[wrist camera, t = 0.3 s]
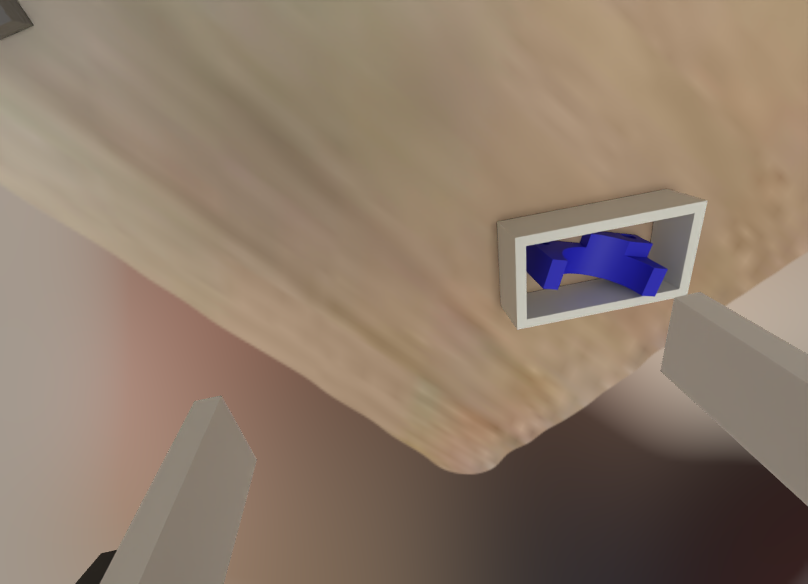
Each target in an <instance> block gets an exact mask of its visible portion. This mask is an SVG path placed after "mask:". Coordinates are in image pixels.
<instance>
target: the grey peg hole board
mask: <svg viewBox="0 0 808 584" xmlns="http://www.w3.org/2000/svg"><path fill="white" fill-rule="evenodd" d="M31 26H33V24H32V23H31V21H30V20H29V18H28V17H27V15H26V14H25V12H24V11H23V9H22V8H21V6H20V5H19V3H18V2H17V1H16V0H0V40H1V39H3V38H5V37H8V36H10V35H12V34H15V33H17V32H19V31H22V30H24V29H26V28H29V27H31Z"/></svg>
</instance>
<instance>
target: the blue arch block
mask: <svg viewBox="0 0 808 584" xmlns="http://www.w3.org/2000/svg"><path fill="white" fill-rule="evenodd" d="M652 245H653V243H651V242H649V241H646V240H644V239H642V238H640V237H638V236H636V235H632V234H622V233H612V232H602V231H601V232H596V233H591V234H586V235H582V238H581V241H580V243H572V242H562V241H550V242H545V243H539V244H534V245H529V246H526V271H527V272H528V273H529V274H530V276H531V277H532V278H533V279H534V280H535V281H536V282H537V283H538V284H539V285H540V286H541V287H542V288H543V289H554V290H558V288H559V285H560V282H561V279H562V276H563V274H567V273H573V274H584V275H590V276H595V277H599V278H603V279H606V280H609V281H612V282H615V283H618V284H620V285H623V286H625V287H627V288H629V289H631V290H633V291H635V292H636V293H638V294H640V295H641V296H653V297H655V295H656V293H657V291H658V289H659V287H660V285H661V283H662V281H663V279H664V276H665V274H666V272H667V270H668V269H667V268H665V267H663V266H661V265H660V264H658V263H656V262H654V261H652V260H651V259H649V258H647V256H648V254H649V252H650V249H651V247H652Z"/></svg>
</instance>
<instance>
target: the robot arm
mask: <svg viewBox="0 0 808 584" xmlns="http://www.w3.org/2000/svg"><path fill="white" fill-rule="evenodd" d="M661 372H662V373H663V374H664V375H665V376H666V377H667V378H668V379H670V380H671V381H672V382H673V383H674V384H675V385H676V386H677V387H678V388H679V389H680V390H682V391H683V392H684V393H685V394H686V395H687V396H688V397H689V398H690V399H692V400H693V401H694V402H695V403H696V404H697V405H698V406H699V407H700V408H701V409H702V410H704V411H705V412H706V413H707V414H708V415H709V416H710V417H711V418H712V419H713V420H714V421H715V422H717V423H718V424H719V425H720V426H721V427H722V428H723V429H724V430H725V431H726V432H727V433H729V434H730V435H731V436H732V437H733V438H734V439H735V440H736V441H737V442H738V443H740V444H741V445H742V446H743V447H744V448H745V449H746V450H747V451H748V452H749V453H750V454H752V455H753V456H754V457H755V458H756V459H757V460H758V461H759V462H760V463H761V464H763V465H764V466H765V467H766V468H767V469H768V470H769V471H770V472H771V473H772V474H774V475H775V476H776V477H777V478H778V479H779V480H780V481H781V482H782V483H783V484H785V486H787V487H788V488H789V489H790V490H791V491H792V492H793V493H794V494H795V495H796V496H797V497H799V498H800V499H801V500H802V501H803V502H804V503H805V504H806V505H807V506H808V354H806V353H805V352H803V351H801V350H800V349H798V348H796V347H794V346H792V345H791V344H789V343H787V342H786V341H784V340H782V339H780V338H779V337H777V336H775V335H774V334H772V333H770V332H768V331H767V330H765V329H763V328H762V327H760V326H758V325H756V324H755V323H753V322H751V321H750V320H748V319H746V318H744V317H743V316H741V315H739V314H737V313H736V312H734V311H732V310H731V309H729V308H727V307H725V306H724V305H722V304H720V303H719V302H717V301H715V300H713V299H712V298H710V297H708V296H706V295H705V294H703V293H701V292H698V293H693V294H688V295H684V296H679V297H675V298H674V302H673V308H672V313H671V318H670V323H669V329H668V334H667V339H666V345H665V350H664V356H663V361H662V366H661ZM256 461H257V459H256V457H255V456H254V454H253V452H252V450H251V448H250V447H249V445H248V443H247V441H246V439H245V438H244V436H243V434H242V432H241V430H240V428H239V427H238V425H237V423H236V421H235V419H234V417H233V416H232V414H231V412H230V410H229V409H228V407H227V405H226V403H225V401H224V399H223V398H222V396H217V397H213V398H208V399H203V400H199V401H194V403H193V405H192V407H191V409H190V411H189V413H188V415H187V417H186V419H185V421H184V423H183V425H182V426H181V428H180V430H179V432H178V434H177V436H176V438H175V440H174V442H173V444H172V446H171V447H170V450H169V451H168V453H167V455H166V457H165V459H164V461H163V463H162V465H161V467H160V469H159V471H158V472H157V475H156V476H155V478H154V481H153V482H152V484H151V486H150V488H149V490H148V492H147V494H146V496H145V497H144V499H143V501H142V503H141V505H140V507H139V509H138V511H137V513H136V515H135V517H134V519H133V521H132V523H131V524H130V526H129V529H128V530H127V532H126V534H125V536H124V538H123V540H122V542H121V544H120V546H119V548H118V549H117V550H114V551H110V552H105V553H102V554H100V555H99V557H98V558H97V559H96V560H95V561H94V563H93V564H92V565H91V566H90V567H89V568H88V569H87V571H86V572H85V573H84V574H83V575H82V576H81V578H80V579H79V580H78V581H77V582H76V584H224V581H225V577H226V573H227V569H228V566H229V562H230V558H231V555H232V550H233V547H234V543H235V540H236V536H237V532H238V528H239V525H240V521H241V517H242V513H243V510H244V506H245V502H246V498H247V495H248V491H249V487H250V483H251V480H252V476H253V472H254V468H255V465H256Z"/></svg>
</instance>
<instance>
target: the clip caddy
mask: <svg viewBox="0 0 808 584" xmlns="http://www.w3.org/2000/svg"><path fill="white" fill-rule="evenodd" d="M706 205H707V200H704V199H701V198H697V197H694V196H690V195H687V194H684V193H680V192H677V191H674V190H670V189H664V190H659V191H654V192H649V193H644V194H638V195H633V196H628V197H623V198H618V199H612V200H607V201H602V202H597V203H592V204H586V205H581V206H576V207H571V208H566V209H561V210H555V211H550V212H545V213H540V214H535V215H529V216H524V217H519V218H514V219H509V220H504V221H498V222H497V235H498V256H499V277H500V298H501V307H502V308H503V310H504V311H505V313H506V314H507V315H508V317H509V318H510V320H511V321H512V323H513V324H514V326H515V327H516V328H517V330H518V329H523V328H528V327H533V326H538V325H543V324H548V323H553V322H558V321H563V320H568V319H573V318H578V317H583V316H588V315H593V314H598V313H603V312H608V311H613V310H618V309H623V308H628V307H633V306H638V305H643V304H648V303H653V302H658V301H663V300H668V299H673V298H675V297H679V296H684V295H687V293H688V289H689V284H690V279H691V275H692V270H693V265H694V261H695V256H696V252H697V247H698V242H699V238H700V233H701V229H702V224H703V219H704V215H705V210H706ZM652 221H654V223H653V229H652V236H651V243H653V245H652V247H651V249H650V252H649V255H648V258H649V259H651V260H652V261H654V262H656V263H658V264H660V265H661V266H663V267H665V268H667V269H668V270H667V272H666V274H665V276H664V279H663V281H662V283H661V285H660V287H659V289H658V291H657V293H656V295H655V297H653V296H641V295H640V294H638V293H636V292H635V291H633V290H631V289H629V288H627V287H625V286H623V285H620V284H618V283H615V282H612V281H609V280H606V279H603V278H600V279H595V280H590V281H585V282H580V283H575V284H570V285H565V286H560V287H559V288H558V290H554V289H545V290H540V291H535V292H530V293H526V246H529V245H534V244H539V243H545V242H550V241H555V240H560V239H565V238H570V237H575V236H581V235H586V234H591V233H596V232H601V231H606V230H611V229H616V228H622V227H627V226H632V225H637V224H642V223H647V222H652Z"/></svg>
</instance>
